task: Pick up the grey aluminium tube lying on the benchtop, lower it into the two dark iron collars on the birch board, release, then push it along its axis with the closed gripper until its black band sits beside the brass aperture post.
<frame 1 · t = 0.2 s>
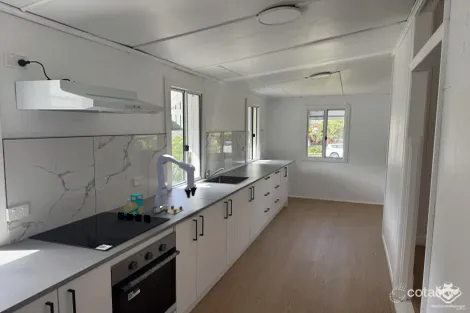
hand: (190, 197, 250), 10 cm above the table, fingers open, 7 cm apart
collar board: (173, 211, 243), on the table
tube: (160, 211, 244), on the table
toy train: (132, 215, 233), on the table
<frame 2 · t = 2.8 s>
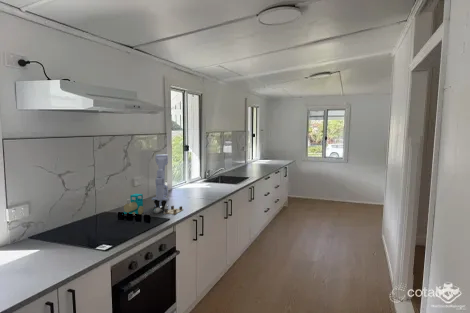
hand: (160, 209, 244), 1 cm above the table, fingers closed on tube, 4 cm apart
tube: (160, 211, 244), on the table, touching gripper
everything else where it was.
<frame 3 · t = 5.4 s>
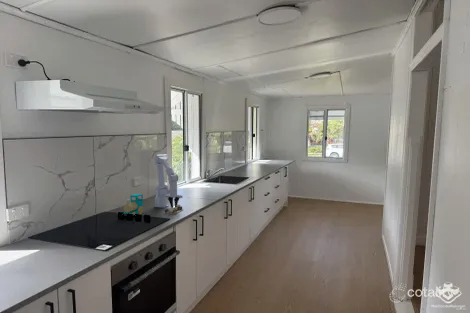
hand: (173, 206, 242), 4 cm above the table, fingers open, 3 cm apart
tube: (172, 207, 242), point 3 cm above the table, tilted 107°, touching collar board, gripper
everything else where it was.
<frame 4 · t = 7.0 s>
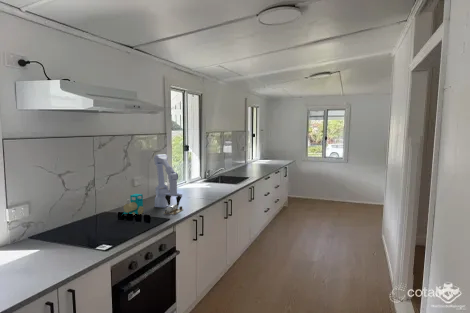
hand: (173, 205, 242), 5 cm above the table, fingers open, 7 cm apart
tube: (170, 209, 243), point 1 cm above the table, tilted 53°, touching collar board
everything else where it was.
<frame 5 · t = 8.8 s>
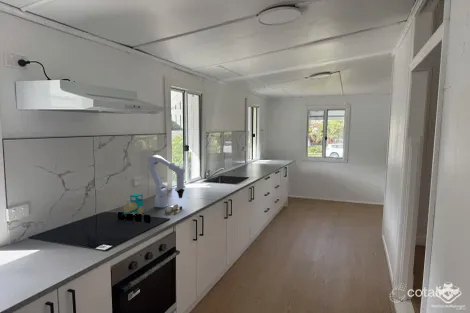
hand: (180, 198, 253), 8 cm above the table, fingers closed
nothing on the table moved.
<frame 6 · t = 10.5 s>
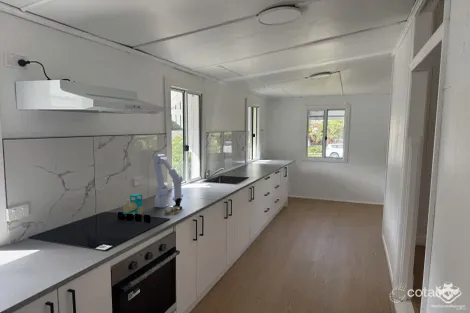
hand: (178, 207, 250), 2 cm above the table, fingers closed
tube: (170, 210, 242), point 1 cm above the table, tilted 51°, touching collar board, gripper
everything else where it was.
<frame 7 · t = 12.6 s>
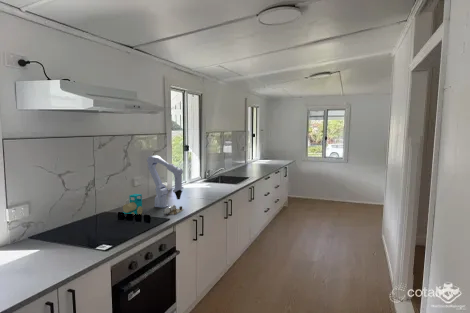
hand: (178, 199, 253), 7 cm above the table, fingers closed
tube: (168, 211, 239), point 1 cm above the table, tilted 48°, touching collar board
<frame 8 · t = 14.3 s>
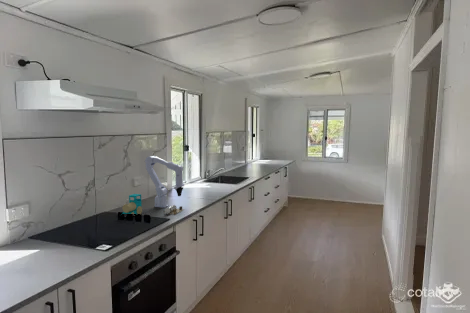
hand: (179, 196, 256), 9 cm above the table, fingers closed
tube: (168, 211, 239), point 1 cm above the table, tilted 54°, touching collar board
at the end: tube 2.4 cm from the target spot, point 1.5 cm above the table; the gripper is holding nothing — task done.
